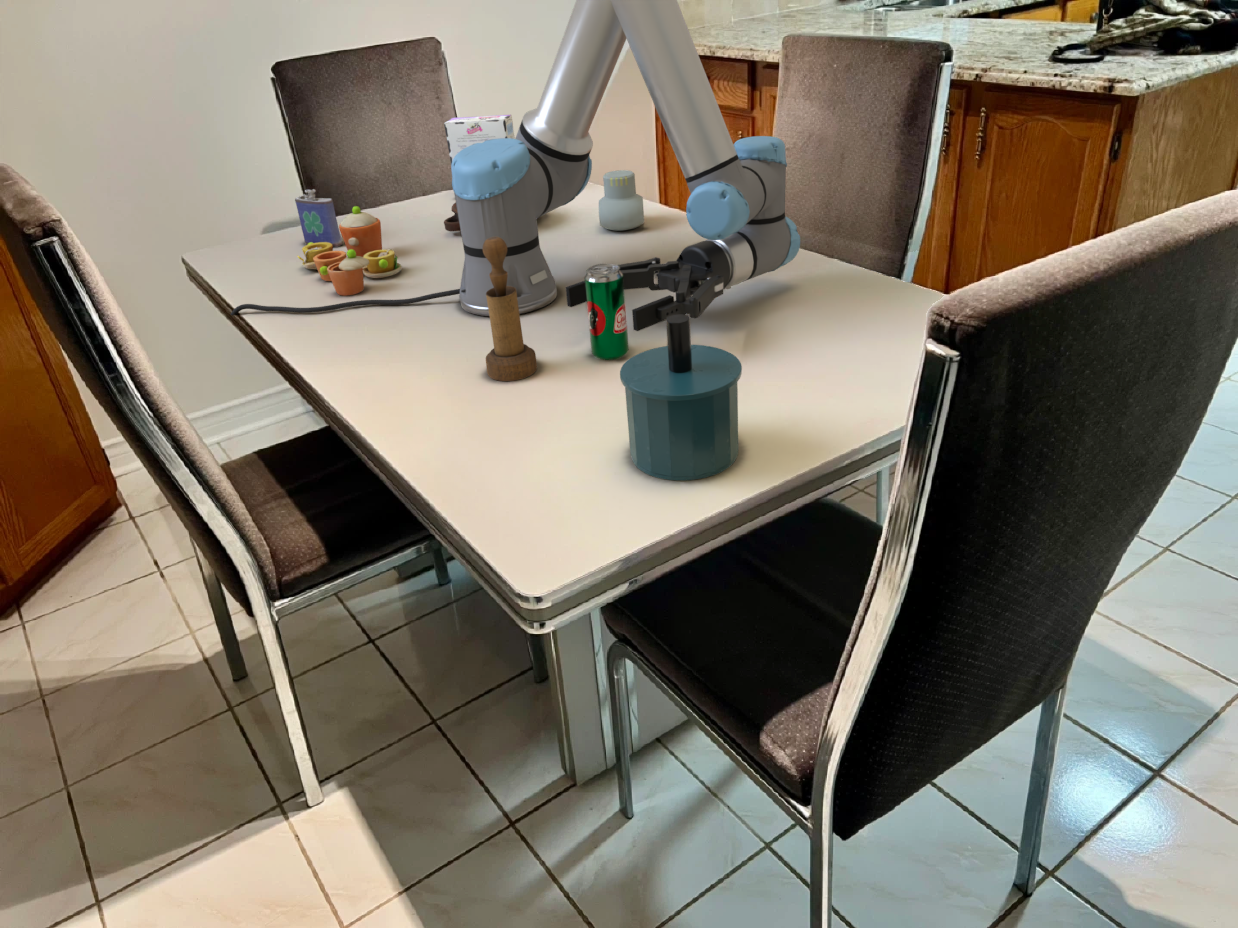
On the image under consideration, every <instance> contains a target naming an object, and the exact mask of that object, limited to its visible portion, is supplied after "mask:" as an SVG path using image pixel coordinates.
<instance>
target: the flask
mask: <svg viewBox="0 0 1238 928" xmlns="http://www.w3.org/2000/svg"><path fill="white" fill-rule="evenodd" d="M316 192H317V190H316V189H315V188H313V189H305V190H304V194H302V195H299V196H296V197H295V198H294V202H295V205H296V209H297V213H298V218H299V221H300V227H301V232H302V235H303V239H304V245H308V243H310V242H312V243H318V242H328V243H331V244H332V245H333V248H338V247H340V246H342V245H343V240H342V239H343V238H342V235H341V232H340V229H339V224H338V219H337V215H336V211H335V206H334V201H333V198H329V197H328V198H325V197H324V198H323V197H316Z"/></svg>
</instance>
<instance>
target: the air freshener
mask: <svg viewBox="0 0 1238 928" xmlns="http://www.w3.org/2000/svg"><path fill="white" fill-rule="evenodd" d="M602 178H603V180H602V181H603V194H604V195H603V197H601V198H600V199H598V220H599V226H601V227H602V228H605V229H607V230H609V231H618V232H619V231H620V232H622V231H623V232H624V231H629V230H634V229H637V228H638V227H640V226H641V225H644V223H645V211H644V198H643V197H644V196H642V195H640V194H638V193H637V189H636V186H637V185H636V174H635V172H633V171H632V170H628V169H620V170H613V171H612V170H611V171H608V172H605V173H604V174H603V176H602Z"/></svg>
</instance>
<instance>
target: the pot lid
mask: <svg viewBox="0 0 1238 928" xmlns="http://www.w3.org/2000/svg"><path fill="white" fill-rule="evenodd" d="M665 322H666V323H665V324H666V340H667V341H666V342H667V345H665V346H658V347H654V348H651V349H648V350H645V351H642V352H639V353H638V354H635V355H633V356H631V357H630V358H628V359H627V360H626V361H625V362H624V363H623V364H622V366H621V368H620V370H619V378H620V382H621V384H622V385H623V386H624V388H625V387H626V388H627V389H628V390H629V391H631V392H633V393H635V394H637V395H640V396H643V397H647V398H651V399H658V400H669V401H680V400H692V399H699V398H704V397H708V396H712V395H715V394H718V393H720V392H723V391H725V390H727V389H729V388H730V387H732V386H733V385H734V384H736V383H737V384H738V382H739V380H740V379H741V377H742V374H743V366H742V362H741V360H740V359H739V358H738V356H735V354H734V353H731V352H729V351H727V350H725V349H721V348H719V347H714V346H711V345H705V344H704V345H703V344H692V335H691V333H692V332H691V317H690V315H688V314H686V315H682V314H677V315H672V316H669V317H668V318H667V319H666V320H665Z"/></svg>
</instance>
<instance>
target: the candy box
mask: <svg viewBox="0 0 1238 928" xmlns="http://www.w3.org/2000/svg"><path fill="white" fill-rule="evenodd" d="M443 126H444V131H445V137H446V142H447V149H448V155H449V161H450V166H451V165H452V161H453V158H454V157H455V156H456V154H457V153H459V152H460V151H461V150H463V149H464V148H466V147H468V146H471V145H473V144H476V143H483V142H484V141H487V140H492V139H500V138H512V139H515V138H516V136H515V131H514V130H515V129H514V123H513V116H512V114H498V115H497V114H496V115H480V116H477V115H476V116H463V117H451V118H450V119H448V120H447V121H445V122H443Z"/></svg>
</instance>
